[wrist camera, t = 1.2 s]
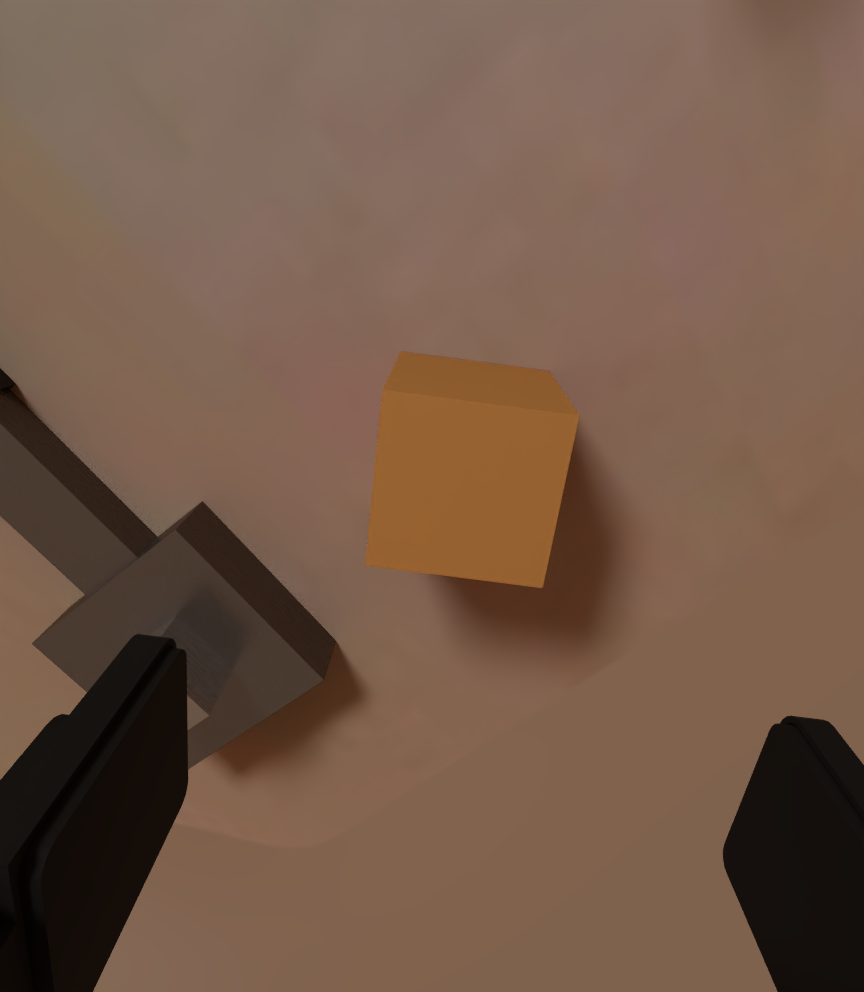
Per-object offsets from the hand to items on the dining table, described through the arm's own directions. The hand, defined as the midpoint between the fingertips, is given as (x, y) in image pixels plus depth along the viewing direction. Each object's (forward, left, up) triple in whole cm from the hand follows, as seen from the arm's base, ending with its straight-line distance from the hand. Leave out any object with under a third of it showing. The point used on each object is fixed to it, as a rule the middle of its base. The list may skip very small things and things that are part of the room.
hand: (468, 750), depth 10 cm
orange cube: (0, 0, -18) cm, 18 cm away
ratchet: (+18, +4, -18) cm, 26 cm away
